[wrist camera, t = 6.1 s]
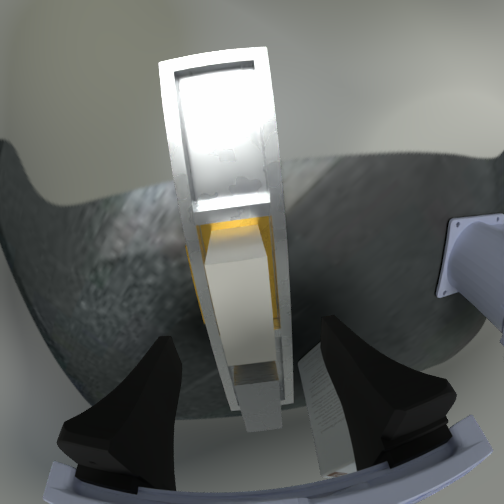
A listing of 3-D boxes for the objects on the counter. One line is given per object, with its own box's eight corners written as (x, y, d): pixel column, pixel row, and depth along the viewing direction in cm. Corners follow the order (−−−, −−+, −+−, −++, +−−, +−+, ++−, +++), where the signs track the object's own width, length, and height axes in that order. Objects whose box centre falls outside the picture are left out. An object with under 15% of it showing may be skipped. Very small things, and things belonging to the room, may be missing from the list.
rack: (262, 56, 14) (276, 23, 9) (290, 388, 26) (300, 432, 20) (164, 70, 14) (136, 45, 9) (229, 395, 25) (230, 441, 20)
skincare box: (364, 354, 25) (413, 452, 13) (333, 381, 26) (367, 479, 15) (325, 332, 23) (374, 452, 12) (291, 363, 24) (319, 480, 13)
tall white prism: (257, 224, 18) (267, 257, 13) (267, 313, 21) (276, 360, 16) (211, 230, 18) (204, 265, 13) (227, 318, 20) (228, 366, 16)
